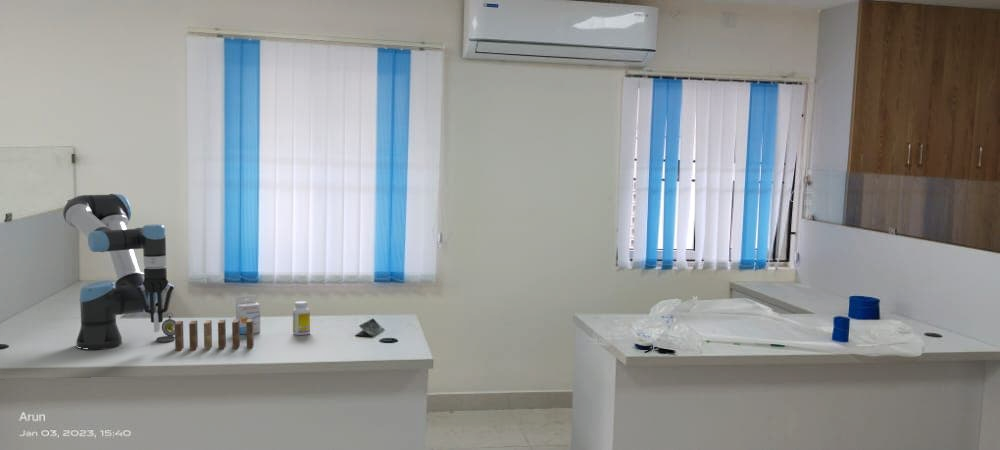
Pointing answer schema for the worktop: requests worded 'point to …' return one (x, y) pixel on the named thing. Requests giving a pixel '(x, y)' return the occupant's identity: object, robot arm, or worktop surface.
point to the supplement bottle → (301, 318)
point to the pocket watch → (167, 330)
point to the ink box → (248, 312)
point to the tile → (207, 334)
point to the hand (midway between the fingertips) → (157, 331)
